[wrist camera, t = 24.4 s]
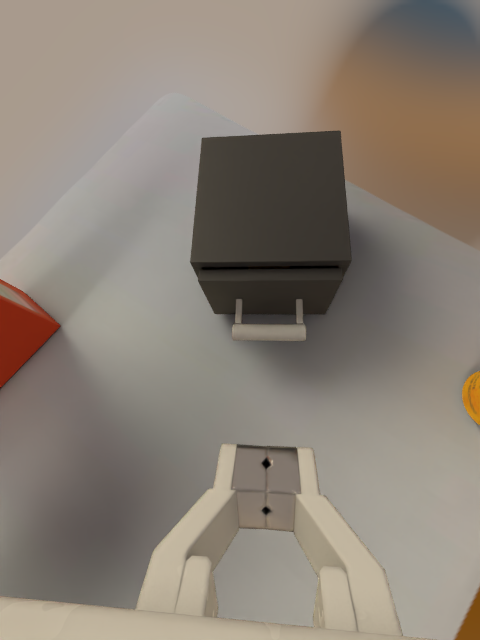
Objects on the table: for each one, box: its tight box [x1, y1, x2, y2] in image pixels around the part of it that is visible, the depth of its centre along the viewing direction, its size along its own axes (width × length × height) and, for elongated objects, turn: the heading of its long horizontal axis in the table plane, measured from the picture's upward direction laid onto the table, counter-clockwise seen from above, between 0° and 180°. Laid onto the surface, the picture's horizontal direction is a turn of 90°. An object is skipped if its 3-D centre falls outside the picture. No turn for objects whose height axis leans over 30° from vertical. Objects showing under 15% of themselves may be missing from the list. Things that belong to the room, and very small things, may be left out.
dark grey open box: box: [190, 131, 352, 278], centre depth 34 cm, size 14×14×11 cm
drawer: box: [198, 266, 343, 341], centre depth 33 cm, size 17×13×9 cm
